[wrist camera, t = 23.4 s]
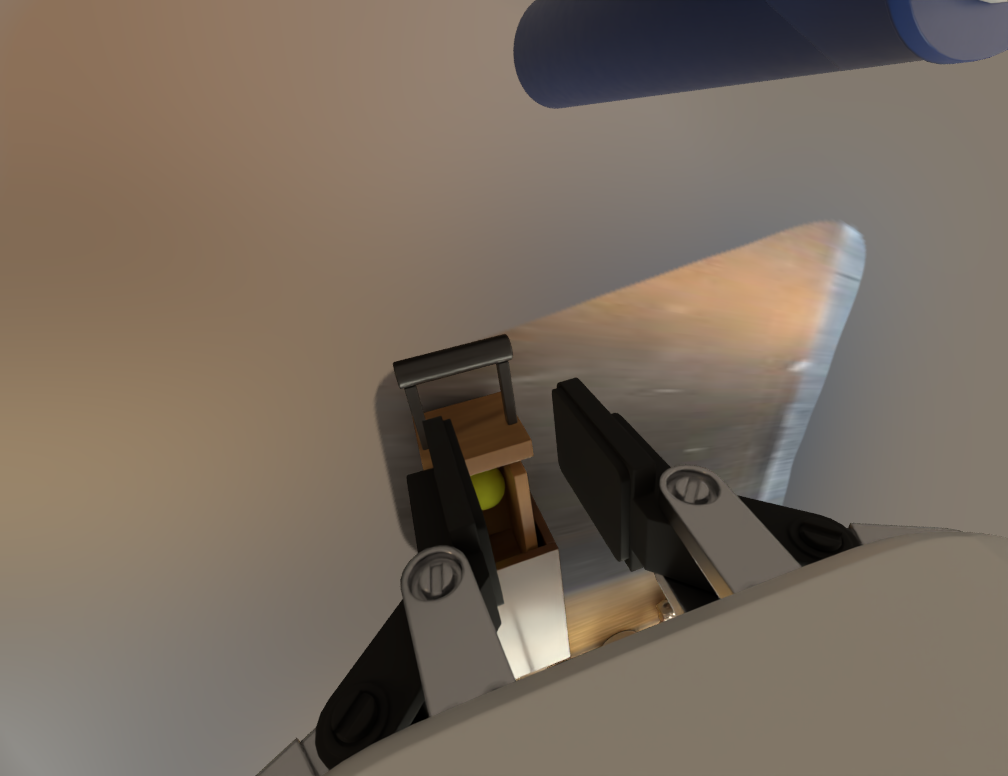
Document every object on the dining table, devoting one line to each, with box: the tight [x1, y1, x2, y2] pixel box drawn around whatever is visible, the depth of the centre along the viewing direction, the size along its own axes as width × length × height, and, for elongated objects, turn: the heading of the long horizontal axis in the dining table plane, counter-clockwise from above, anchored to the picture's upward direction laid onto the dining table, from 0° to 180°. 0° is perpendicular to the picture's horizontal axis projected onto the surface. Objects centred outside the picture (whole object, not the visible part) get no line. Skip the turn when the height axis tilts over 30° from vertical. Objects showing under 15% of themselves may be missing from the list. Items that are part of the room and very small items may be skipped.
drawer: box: [393, 334, 538, 563], centre depth 28 cm, size 18×6×6 cm, turn 8°
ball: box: [470, 468, 505, 510], centre depth 29 cm, size 3×3×3 cm
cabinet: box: [495, 490, 570, 679], centre depth 34 cm, size 13×7×7 cm, turn 8°
